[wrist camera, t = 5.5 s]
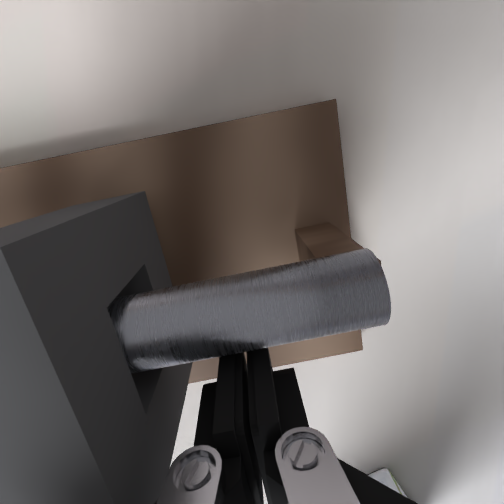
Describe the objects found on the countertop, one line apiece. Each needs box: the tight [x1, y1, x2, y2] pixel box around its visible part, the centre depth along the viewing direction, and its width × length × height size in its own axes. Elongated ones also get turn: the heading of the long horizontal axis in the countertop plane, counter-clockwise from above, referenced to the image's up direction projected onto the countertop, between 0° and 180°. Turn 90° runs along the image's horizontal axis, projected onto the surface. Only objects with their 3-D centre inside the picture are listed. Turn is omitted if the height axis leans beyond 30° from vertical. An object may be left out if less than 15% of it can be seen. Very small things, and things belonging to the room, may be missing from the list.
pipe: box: [107, 249, 391, 374], centre depth 10 cm, size 24×3×3 cm, turn 101°
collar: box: [0, 191, 193, 504], centre depth 10 cm, size 3×8×8 cm, turn 11°
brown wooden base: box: [0, 99, 381, 384], centre depth 13 cm, size 26×12×6 cm, turn 101°
